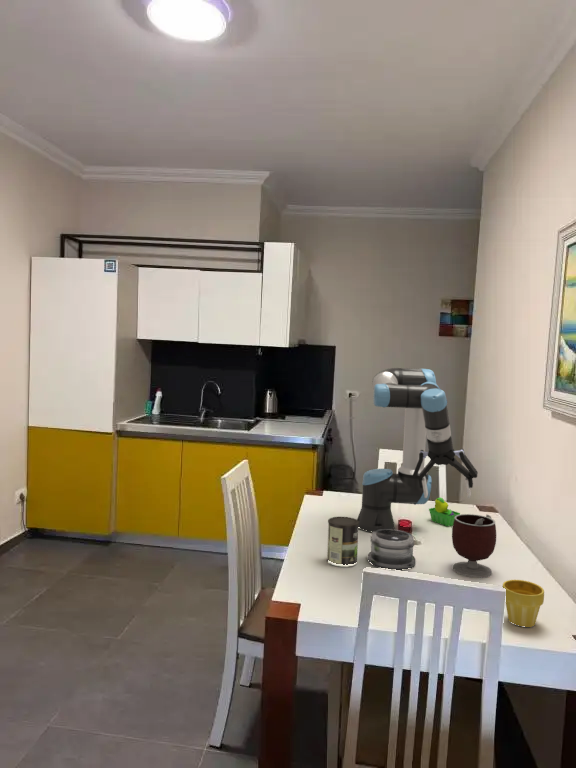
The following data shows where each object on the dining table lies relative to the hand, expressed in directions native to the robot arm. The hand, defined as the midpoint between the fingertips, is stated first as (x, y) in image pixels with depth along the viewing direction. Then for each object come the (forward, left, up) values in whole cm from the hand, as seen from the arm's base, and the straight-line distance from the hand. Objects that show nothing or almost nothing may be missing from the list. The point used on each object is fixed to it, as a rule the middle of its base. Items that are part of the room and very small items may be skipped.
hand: (447, 495), depth 191 cm
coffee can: (-27, -19, -25) cm, 42 cm away
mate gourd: (+7, +7, -25) cm, 27 cm away
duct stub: (-16, -6, -25) cm, 30 cm away
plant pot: (+33, -17, -25) cm, 45 cm away
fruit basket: (-27, +48, -25) cm, 60 cm away
